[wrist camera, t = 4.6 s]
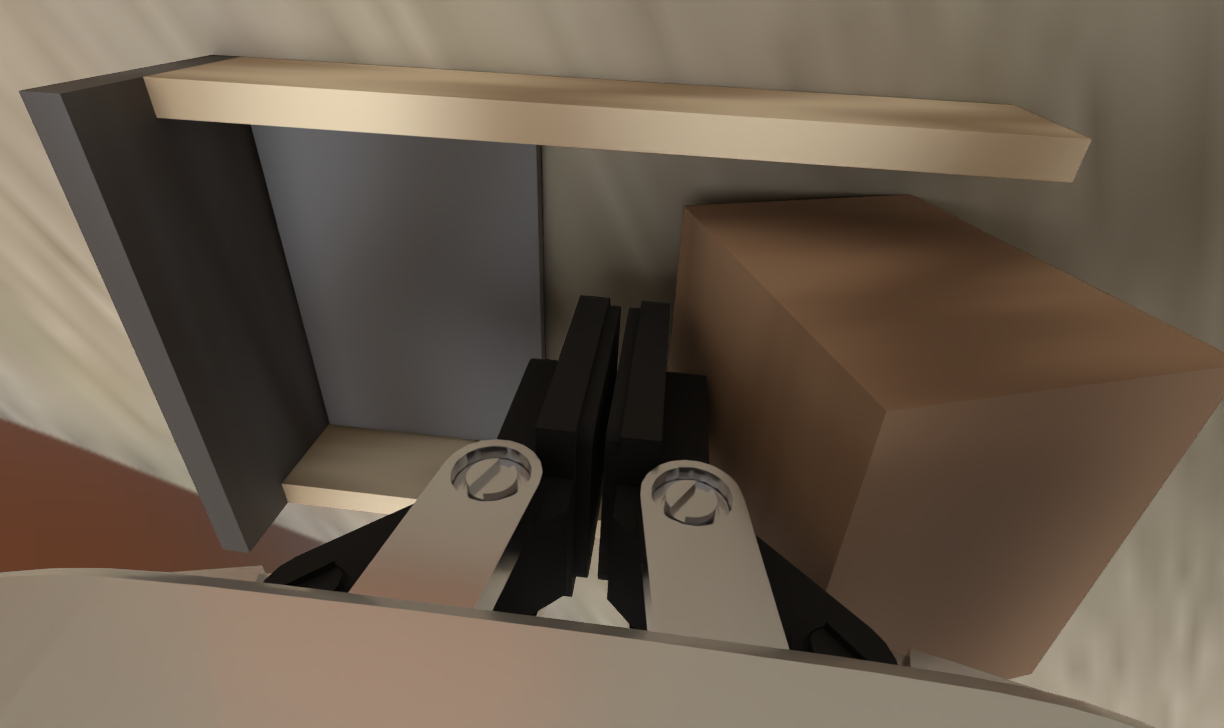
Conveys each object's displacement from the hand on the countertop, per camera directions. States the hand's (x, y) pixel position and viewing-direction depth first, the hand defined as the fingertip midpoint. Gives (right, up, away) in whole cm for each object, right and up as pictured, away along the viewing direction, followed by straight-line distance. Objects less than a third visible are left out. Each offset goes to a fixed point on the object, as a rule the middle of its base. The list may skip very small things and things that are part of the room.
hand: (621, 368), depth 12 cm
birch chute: (-1, +1, +2) cm, 3 cm away
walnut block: (+3, +1, +1) cm, 3 cm away
